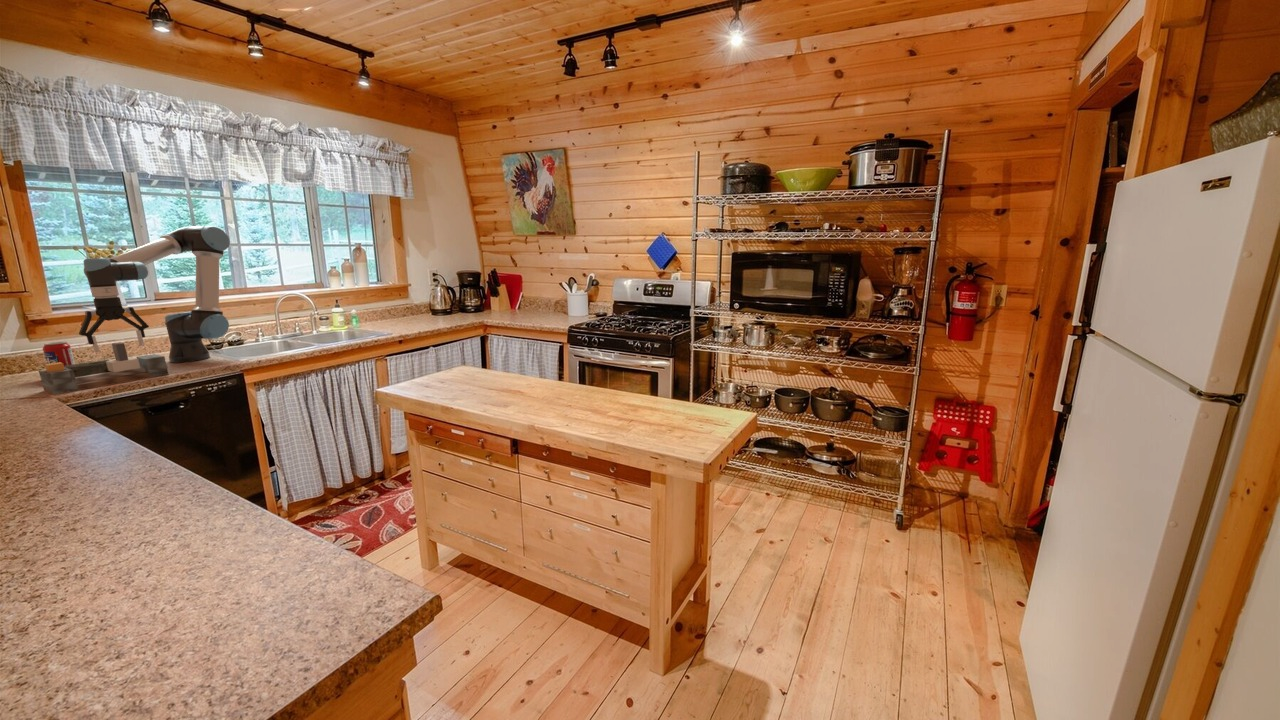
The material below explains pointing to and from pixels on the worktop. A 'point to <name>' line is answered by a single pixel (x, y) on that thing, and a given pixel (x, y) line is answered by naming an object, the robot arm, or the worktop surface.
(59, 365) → the plunger
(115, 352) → the carriage
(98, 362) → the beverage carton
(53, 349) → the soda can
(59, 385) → the rail stand
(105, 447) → the worktop surface
